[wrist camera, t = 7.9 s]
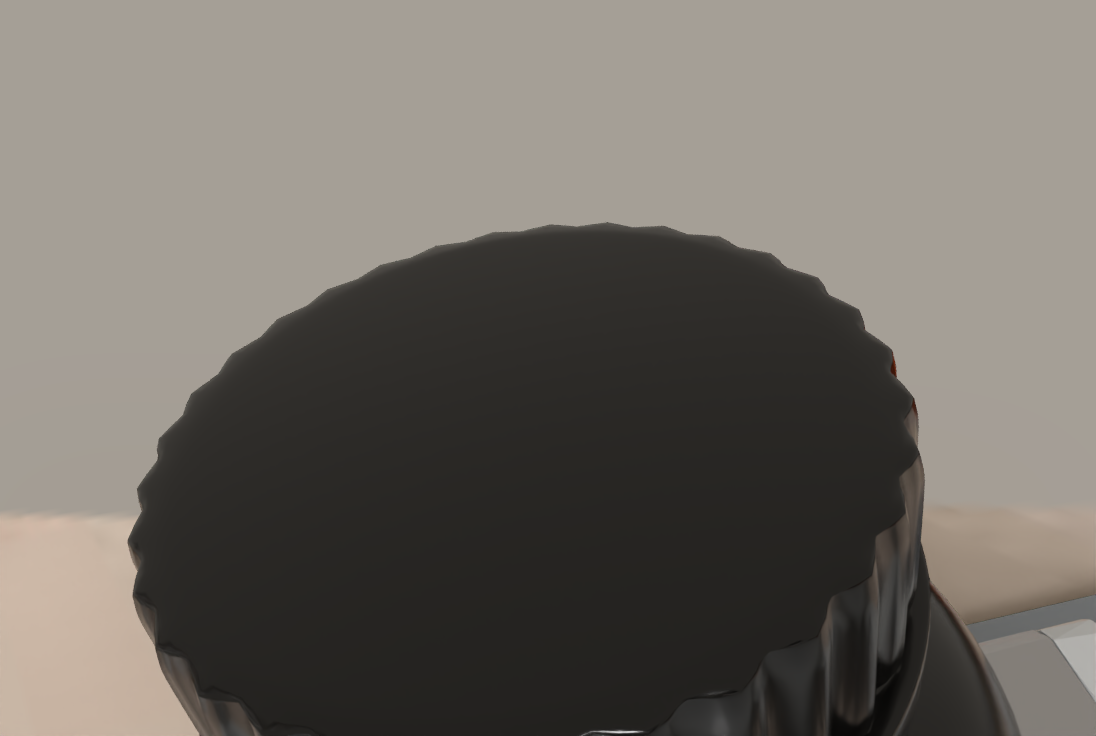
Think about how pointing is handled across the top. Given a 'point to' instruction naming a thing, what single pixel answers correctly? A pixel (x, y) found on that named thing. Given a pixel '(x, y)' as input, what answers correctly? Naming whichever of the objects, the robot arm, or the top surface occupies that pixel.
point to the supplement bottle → (556, 509)
